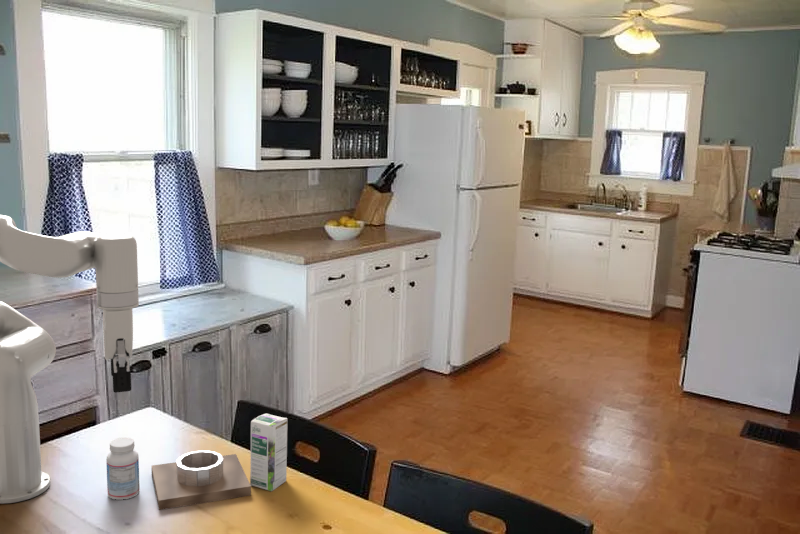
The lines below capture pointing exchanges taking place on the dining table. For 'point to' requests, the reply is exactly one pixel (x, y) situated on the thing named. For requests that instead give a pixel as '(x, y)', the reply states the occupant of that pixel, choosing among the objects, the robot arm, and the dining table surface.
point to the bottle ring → (200, 476)
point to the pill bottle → (122, 469)
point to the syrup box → (268, 451)
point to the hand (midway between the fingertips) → (121, 383)
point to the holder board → (182, 495)
